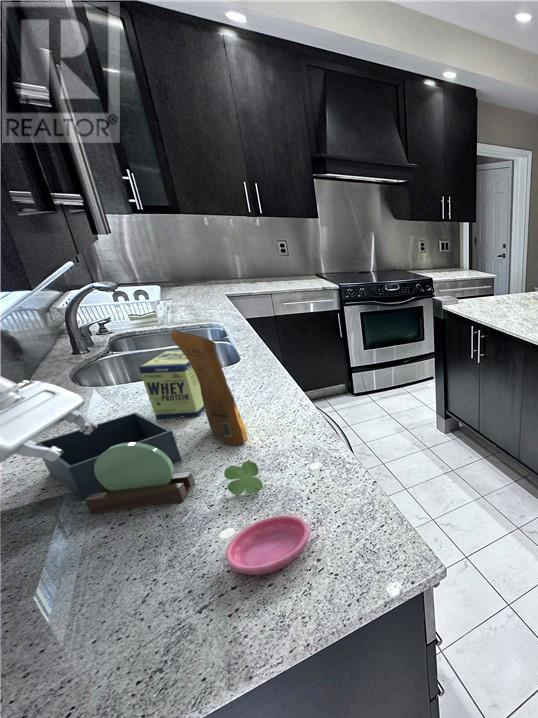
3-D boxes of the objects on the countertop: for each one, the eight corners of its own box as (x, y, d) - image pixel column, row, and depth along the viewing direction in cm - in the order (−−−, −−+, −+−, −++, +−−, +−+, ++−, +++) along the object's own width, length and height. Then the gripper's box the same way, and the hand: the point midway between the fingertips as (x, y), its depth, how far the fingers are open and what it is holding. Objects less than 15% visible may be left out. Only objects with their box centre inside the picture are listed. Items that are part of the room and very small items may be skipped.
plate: (178, 492, 83) (161, 442, 78) (106, 501, 79) (83, 449, 75) (181, 488, 84) (164, 438, 79) (110, 497, 80) (88, 446, 76)
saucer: (305, 574, 66) (302, 560, 65) (218, 590, 63) (213, 575, 62) (316, 522, 77) (313, 509, 76) (242, 534, 74) (238, 520, 73)
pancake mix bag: (227, 454, 97) (196, 343, 86) (197, 429, 108) (166, 327, 97) (257, 443, 102) (231, 336, 92) (225, 420, 113) (199, 322, 102)
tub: (83, 500, 81) (67, 468, 78) (49, 474, 88) (34, 443, 85) (181, 459, 95) (172, 430, 92) (146, 439, 102) (136, 412, 99)
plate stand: (183, 502, 81) (178, 488, 80) (90, 514, 77) (84, 500, 76) (195, 484, 87) (191, 471, 85) (109, 494, 82) (103, 481, 81)
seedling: (256, 501, 90) (246, 504, 83) (226, 479, 89) (213, 481, 83) (281, 474, 92) (272, 476, 86) (251, 453, 91) (240, 453, 85)
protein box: (155, 419, 111) (137, 367, 105) (183, 396, 125) (168, 348, 119) (198, 417, 114) (183, 365, 108) (221, 394, 128) (208, 347, 122)
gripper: (20, 389, 78) (101, 428, 84) (-90, 443, 60) (24, 487, 66) (40, 365, 77) (120, 406, 83) (-65, 413, 59) (48, 461, 65)
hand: (77, 442), depth 75 cm, fingers open, 8 cm apart
